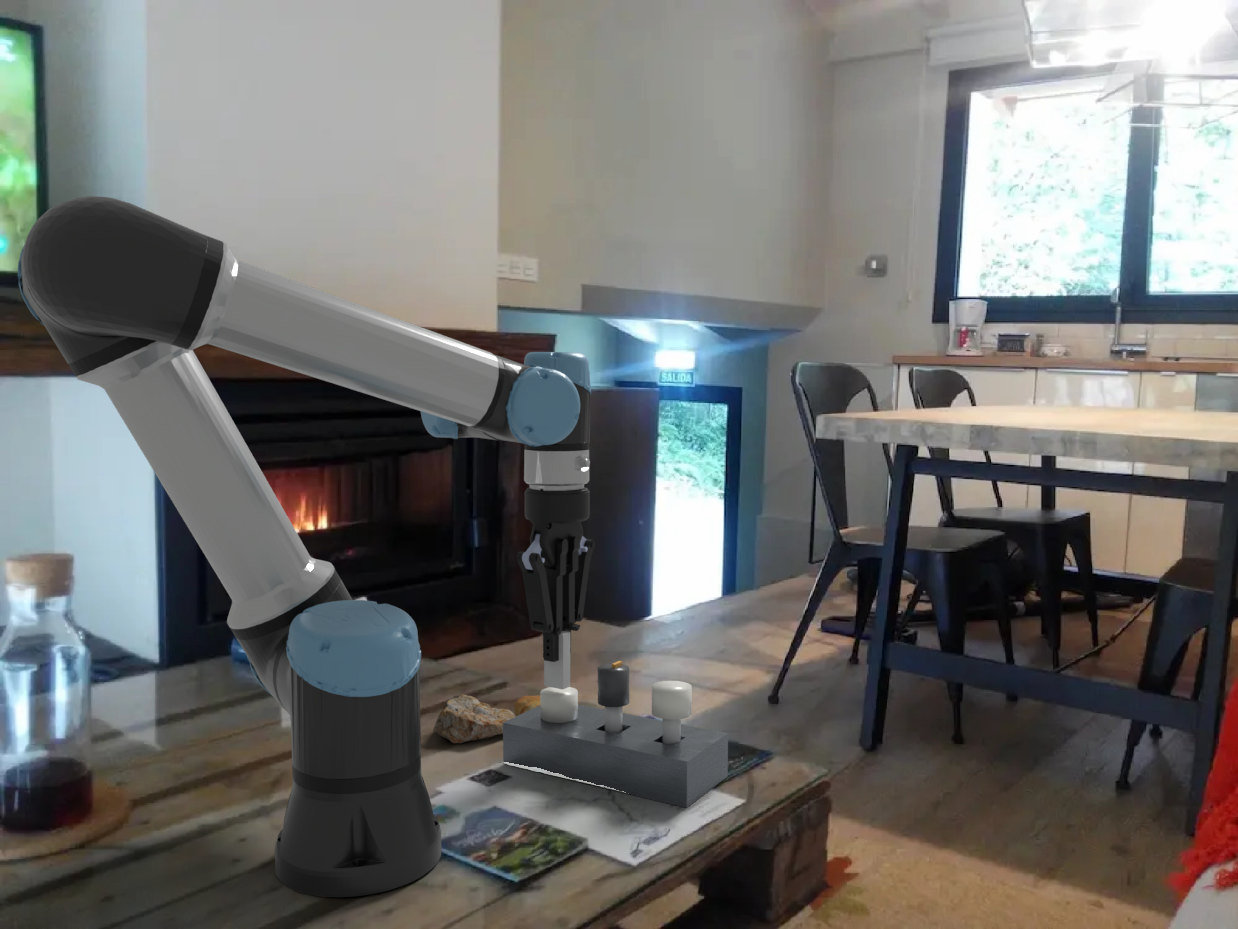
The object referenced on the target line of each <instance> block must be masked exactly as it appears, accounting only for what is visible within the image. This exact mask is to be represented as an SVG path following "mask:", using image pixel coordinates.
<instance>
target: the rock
mask: <svg viewBox="0 0 1238 929" xmlns="http://www.w3.org/2000/svg"><path fill="white" fill-rule="evenodd" d="M514 717H516V715H515V713H514V712H513V711H511V710H510V709H505V708H496V707H491V705H490V704H488V703H486V702H480V701H479V700H478V699H477V698H476V697H475V696H471V695H468V694H463V693H460V694H459V695H458V696H457V697H453V698H450V699H448V701H447V702H446V703H445V705H444V707H443V709H442V710H441V712H440V713H439V714H438V716H437V718H436V721H435V723H434V726H433V730H432V732H433V733H437V734H439V736H441V737H443V738H445V739H447V740H449V742H450V743H451V744H453V745H455V744H464V743H467V742H470V741H477V740H481V739H485V738H492V737H494V736H497V735H503V722H505V721H507V720H510V719H512V718H514Z"/></svg>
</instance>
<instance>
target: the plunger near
mask: <svg viewBox="0 0 1238 929" xmlns="http://www.w3.org/2000/svg"><path fill="white" fill-rule="evenodd" d="M692 690H693V686H692V685H691V684H690V683H688V682H685V681H681V680H662V681H661V680H660V681H656V682H653V684H651V715H652V716H653V717H655V718H658V719H660V720H662V721H663V743H664V744H669V745H674V744H676V743H678V742H679V741H681V724H682V723H681V721H682V720H683V719H686V718H690V717H691V716H692V711H693V710H692V709H693V708H692V706H693V705H692V704H693V701H692V700H693V698H692V697H693V695H692V693H693V692H692Z"/></svg>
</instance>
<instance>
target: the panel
mask: <svg viewBox="0 0 1238 929" xmlns="http://www.w3.org/2000/svg"><path fill="white" fill-rule="evenodd" d="M502 751H503V753H502V758H503V759H502V760H503V762H509V763H514V764H519V765H524V766H528V767H537V768H541V769H544V770H547V771H550V772H553V773H559V774H562V775H564V776H566V777H569V778H572V779H579V780H583V781H587V782H591V783H594V784H596V785H604V786H607V787H610V788H614V789H616V790H619V791H624V792H626V793H629V794H628V795H630V794H631V795H632V796H634V795H635V797H639V798H643V797H644V798H643V799H646V800H647V799H648V800H652V801H655V802H659V803H660V802H661V803H664V804H668V805H672V806H676V807H681V808H686V809H688V808H689V807H690V806H691V805H693V804H694V803H695V802H696V801H698V800H699V799H700V798H702V797H703V796H705V795H706V794H707V793H708V792H710V791H711V790H712V789H714V788H715V787H716V786H717V785H719V784H720V783H722V782H723V781H724V780H726V778H728V775H729V772H728V770H729V733H728V732H723V731H717V730H712V729H707V728H703V727H702V728H701V727H696V726H692V725H687V724H682V723H681V741H679V742H678V743H676V744H674V745H669V744H664V743H663V720H662V719H656V718H649V717H645V716H640V715H634V714H630V713H623V712H622V732H621V733H619V734H615V733H610V732H606V731H605V708H604V709H603V708H599V707H594V706H593V707H592V706H588V705H583V704H578V718H577V719H575V720H573V721H570V722H565V723H552V722H546V721H544V720H542V719H541V708H540V705H539V706H537V707H535V708H533V709H531V710H529V711H527V712H524V713H522V714H520V715H518V716H516V717H514V718H512V719H510V720H507V721H505V722H503V734H502ZM503 762H502V763H503ZM626 793H625V794H626ZM631 795H630V796H631Z"/></svg>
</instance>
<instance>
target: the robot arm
mask: <svg viewBox="0 0 1238 929" xmlns="http://www.w3.org/2000/svg"><path fill="white" fill-rule="evenodd" d="M45 211H46V210H45ZM17 279H18V289H19V291H20V294H21V296H22V299H23V302H24V303H25V304H26V306H27V308H28V310H29V311H30V313H31V314H32V316H33V317H34V318H35V319H36V320H37V321H39V322H40V324H41V325H42V326H44V327H45V329H46V331H47V332H48V334H49V336H50V337H51V339H52V341H53V342H54V344H55V345H56V347H57V349H58V350H59V352H60V353H61V355H62V357H63V358H64V360H65V361H66V363H67V364H68V366H69V368H70V370H71V371H72V373H73V374H74V376H75V377H76V379H77V380H78V381H81V382H85V383H89V384H91V385H94V386H95V385H96V386H98V387H100V388H101V389H103V390H104V392H105V393H106V394H107V396H108V397H109V399H110V401H111V404H112V405H113V406H114V408H115V409H116V411H117V413H118V414H119V416H120V418H121V419H122V420H123V422H124V424H125V426H126V427H127V429H128V431H129V433H130V434H131V436H132V437H133V439H134V441H135V442H136V444H137V445H138V447H139V449H140V451H141V452H142V455H144V457H145V459H146V460H147V462H148V464H149V466H150V467H151V469H152V470H153V472H154V473H155V475H156V477H157V478H158V480H159V482H160V483H161V485H162V487H163V489H164V490H165V493H167V495H168V497H169V499H170V500H171V502H172V504H173V505H174V507H175V509H176V510H177V512H178V514H179V515H180V517H181V518H182V520H183V522H184V523H185V525H186V527H187V528H188V530H189V532H190V533H191V535H192V537H193V538H194V539H195V540H194V541H196V543H197V545H198V546H199V548H200V550H201V551H202V553H203V554H204V556H205V559H207V561H208V563H209V565H210V566H211V568H212V569H213V571H214V572H215V574H216V576H217V578H218V580H219V581H220V583H221V584H222V586H223V588H224V589H225V591H226V593H227V594H228V596H229V597H230V599H231V606H230V609H229V612H228V616H227V620H226V624H227V625H228V627H229V629H230V630H231V632H232V633H233V635H234V637H235V638H236V640H237V643H239V645H240V648H242V650H243V651H244V653H245V656H247V661H248V663H249V666H250V669H251V672H252V675H253V676H254V678H255V679H256V681H257V682H258V683H259V685H260V686H261V687H262V688H263V689H264V690H265V691H266V692H267V693H268V694H270V695H271V697H273V698H274V699H275V700H276V701H277V702H278V703H279V705H280V706H281V707H282V709H284V710H285V711H286V712H287V714H288V715H289V717H290V730H291V731H290V734H291V735H290V736H291V738H290V740H291V763H292V764H291V769H292V772H291V773H292V787H291V791H290V795H289V797H288V801H287V805H286V809H285V813H284V819H283V824H282V829H281V830H280V832H279V833H278V835H277V838H276V841H275V845H274V868H275V875H276V877H277V879H278V880H279V881H280V883H282V884H283V885H284V886H286V887H287V888H289V889H291V890H294V891H296V892H299V893H302V894H305V895H310V896H317V897H323V898H324V897H325V898H326V897H327V898H349V897H351V898H352V897H361V896H362V897H363V896H368V895H373V894H374V895H375V894H380V893H383V892H387V891H391V890H395V889H397V888H400V887H403V886H405V885H408V884H410V883H412V882H414V881H416V880H419V878H421V877H423V876H425V875H426V874H427V873H429V872H431V870H432V869H433V868H434V867H435V866H436V865H437V864H438V862H439V861H440V859H441V856H442V829H441V825H440V822H439V819H438V817H437V816H436V814H435V813H434V810H433V805H432V802H431V797H430V795H429V792H428V789H427V786H426V783H425V780H424V777H423V775H422V757H421V756H422V752H421V751H422V746H421V745H422V744H421V743H422V742H421V735H422V734H421V729H422V728H421V678H420V676H421V673H420V672H421V671H420V670H421V669H420V666H421V662H422V661H421V659H422V650H421V649H420V648H421V645H420V643H419V635H418V628H417V624H416V622H415V620H414V619H413V618H412V616H410V615H409V613H408V612H406V611H405V610H403V609H401V608H399V607H397V606H395V605H392V604H389V603H377V601H373V600H363V599H353V598H352V596H351V595H350V593H349V591H348V589H347V588H346V585H345V584H344V581H343V580H342V579H341V577H340V575H339V574H338V572H337V570H336V568H335V566H334V565H333V564H332V562H330V561H326V560H322V559H316V558H314V557H312V556H311V555H310V553H309V552H308V550H307V548H306V546H305V545H304V543H303V541H302V539H301V538H300V535H299V534H298V532H297V531H296V529H295V527H294V525H293V523H292V522H291V521H290V519H289V516H288V515H287V513H286V512H285V509H284V508H283V506H282V505H281V503H280V501H279V499H278V497H277V495H276V493H275V492H274V490H273V488H272V487H271V485H270V484H269V481H268V480H267V478H266V476H265V475H264V472H263V471H262V469H261V468H260V466H259V464H258V462H257V460H256V458H255V457H254V456H253V453H252V452H251V450H250V448H249V447H248V445H247V443H246V442H245V439H244V438H243V436H242V434H241V432H240V431H239V429H238V427H237V425H236V424H235V422H234V420H233V419H232V416H231V415H230V412H228V409H227V407H226V406H225V404H224V402H223V401H222V399H221V397H220V396H219V394H218V392H217V390H216V388H215V387H214V385H213V383H212V382H211V380H210V377H209V376H208V374H207V372H206V371H205V370H204V367H203V365H202V364H201V362H200V361H199V359H198V356H197V355H196V354H195V353H196V352H194V350H195V349H197V348H199V347H201V346H204V345H211V346H214V347H217V348H220V349H222V350H223V349H224V350H226V351H230V352H232V353H237V354H238V355H243V356H245V357H249V358H252V359H255V360H257V361H261V362H264V363H268V364H271V365H274V366H277V367H280V368H283V369H287V370H290V371H293V372H296V373H299V374H301V375H305V376H308V377H312V378H316V379H318V380H321V381H324V382H327V383H332V384H334V385H337V386H340V387H344V388H347V389H350V390H352V391H356V392H359V393H362V394H365V395H369V396H370V397H371V396H372V397H375V398H378V399H381V400H385V401H388V402H391V403H394V404H397V405H400V406H403V407H407V408H409V409H413V410H416V411H419V412H420V415H421V416H420V417H421V420H422V424H423V426H424V428H425V430H426V431H427V433H428V434H429V435H431V436H432V437H435V438H445V439H447V438H448V439H449V438H450V439H453V440H458V439H459V438H461V439H462V438H477V439H478V438H480V439H486V440H494V441H501V442H502V441H503V442H506V441H507V442H511V443H512V442H513V443H518V444H519V443H520V444H523V446H524V447H523V448H524V451H523V452H524V455H523V456H524V458H523V459H524V464H523V465H524V466H523V468H524V469H523V473H524V474H523V481H524V482H525V484H527V485H528V486H529V487H527V488H526V490H524V518H525V519H526V520H528V521H530V523H531V524H532V529H531V534H530V537H529V540H530V545H529V546H528V548H527V549H526V551H518V552H517V553H516V561H517V563H518V566H519V568H520V570H521V574H522V581H523V586H524V587H523V588H524V593H525V599H526V600H525V601H526V607H527V613H528V619H529V625H530V629H531V630H533V631H535V632H539V633H540V632H541V633H542V658H543V661H544V662H543V686H544V687H546V688H548V687H553V688H558V689H565V688H568V687H571V652H572V632H573V631H575V632H577V631H579V630H580V628H581V625H580V624H576V622H581V621H582V620H583V618H584V610H585V603H586V594H587V587H588V580H589V572H590V564H591V559H592V555H593V552H594V549H595V546H596V543H595V540H594V539H587V538H586V537H585V536H584V529H583V526H582V522H584V521H587V520H588V519H589V518H590V515H591V514H590V513H591V512H590V511H591V510H590V508H591V506H590V505H591V504H590V502H591V499H590V498H591V496H590V494H591V492H590V490H589V488H588V487H585V485H587V484H588V483H589V482H590V464H591V460H590V435H591V434H590V433H591V432H590V430H591V427H590V426H591V425H590V423H591V395H592V388H591V379H590V378H591V375H590V374H591V373H590V372H591V371H590V364H589V360H588V357H587V356H586V355H584V354H583V353H580V352H574V351H532V352H527V353H526V355H524V361H523V364H522V363H520V362H517V361H514V360H512V359H508V358H506V357H503V356H500V355H498V354H494V353H492V352H490V351H488V350H484V349H481V348H479V347H477V346H473V345H471V344H468V343H465V342H462V341H460V340H457V339H455V338H453V337H448V336H446V335H443V334H442V333H438V332H436V331H432V330H430V329H427V328H424V327H421V326H419V325H416V324H413V323H410V322H408V321H406V320H403V319H399V318H397V317H394V316H392V315H389V314H386V313H384V312H381V311H379V310H375V309H373V308H369V307H367V306H365V305H361V304H359V303H356V302H353V301H351V300H348V299H345V298H343V297H340V296H336V295H334V294H331V293H328V292H325V291H323V290H320V289H318V288H315V287H312V286H309V285H307V284H304V283H302V282H299V281H296V280H293V279H291V278H288V277H285V276H282V275H279V274H277V273H275V272H272V271H269V270H266V269H263V268H260V267H258V266H255V265H252V264H249V263H247V262H244V261H242V260H239V259H237V258H236V257H235V256H234V255H233V252H232V250H231V249H230V247H229V246H228V244H227V243H226V242H224V241H223V240H219V239H217V238H214V237H211V236H209V235H206V234H203V233H201V232H198V231H196V230H195V229H191V228H190V227H187V226H184V225H182V224H180V223H177V222H175V221H173V220H170V219H168V218H165V217H164V216H161V215H158V214H157V213H154V212H152V211H149V210H146V209H145V208H142V207H141V206H137V205H136V204H133V203H131V202H127V201H125V200H121V199H117V198H113V197H108V196H96V195H95V196H94V195H87V196H80V197H74V198H70V199H68V200H65V201H62V202H60V203H58V204H55V205H53V207H51V208H49V209H48V210H47V211H46V212H44V213H43V214H42V215H41V216H40V217H38V219H37V220H36V221H35V223H33V225H32V226H31V228H30V230H29V232H28V233H27V236H26V240H25V241H24V245H23V247H22V249H21V251H20V254H19V260H18V263H17Z"/></svg>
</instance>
